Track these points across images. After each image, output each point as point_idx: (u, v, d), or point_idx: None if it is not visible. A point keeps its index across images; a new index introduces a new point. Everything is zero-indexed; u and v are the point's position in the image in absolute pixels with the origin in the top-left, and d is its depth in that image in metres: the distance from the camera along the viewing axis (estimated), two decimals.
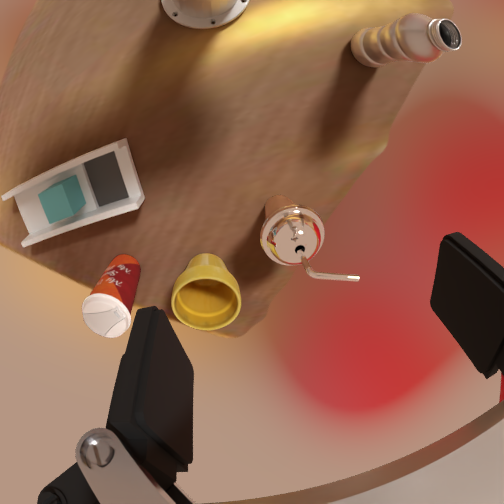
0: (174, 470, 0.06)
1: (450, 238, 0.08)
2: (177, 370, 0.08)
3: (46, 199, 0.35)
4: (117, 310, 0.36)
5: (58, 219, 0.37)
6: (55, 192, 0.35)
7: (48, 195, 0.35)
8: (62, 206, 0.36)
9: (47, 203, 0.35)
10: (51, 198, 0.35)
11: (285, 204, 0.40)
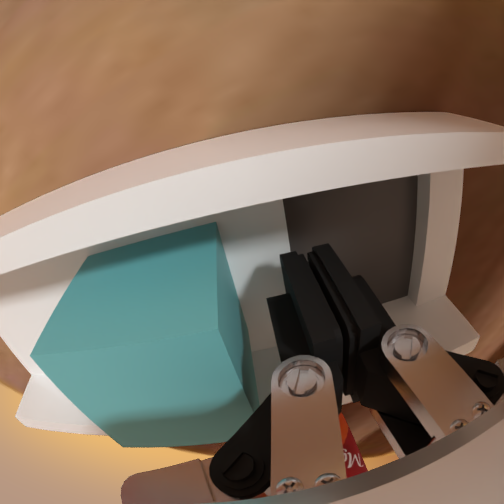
0: None
1: (314, 250, 0.09)
2: None
3: (91, 385, 0.06)
4: None
5: (172, 444, 0.08)
6: (156, 367, 0.06)
7: (102, 373, 0.06)
8: (202, 416, 0.07)
9: (101, 399, 0.06)
10: (126, 387, 0.06)
11: None
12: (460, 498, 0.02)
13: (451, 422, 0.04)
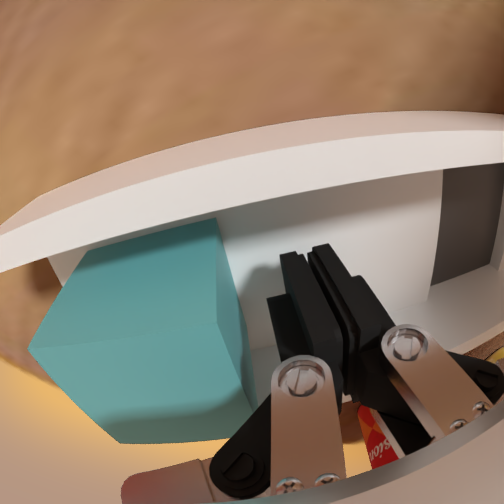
0: None
1: (314, 250, 0.09)
2: None
3: (88, 379, 0.06)
4: None
5: (169, 441, 0.08)
6: (154, 361, 0.06)
7: (99, 367, 0.06)
8: (199, 412, 0.07)
9: (98, 393, 0.06)
10: (123, 381, 0.06)
11: None
12: (460, 498, 0.02)
13: (451, 422, 0.04)
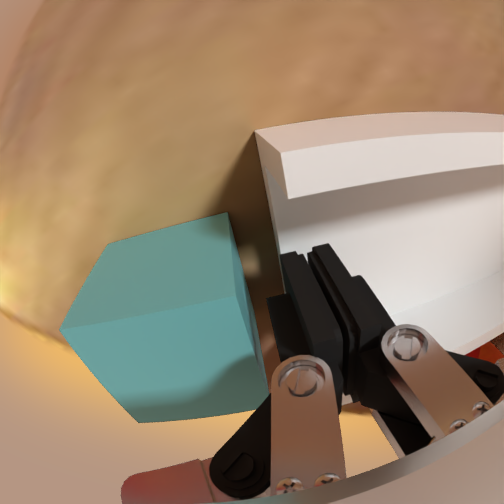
0: None
1: (314, 250, 0.09)
2: None
3: None
4: None
5: None
6: None
7: None
8: None
9: None
10: None
11: None
12: (460, 498, 0.02)
13: (451, 422, 0.04)
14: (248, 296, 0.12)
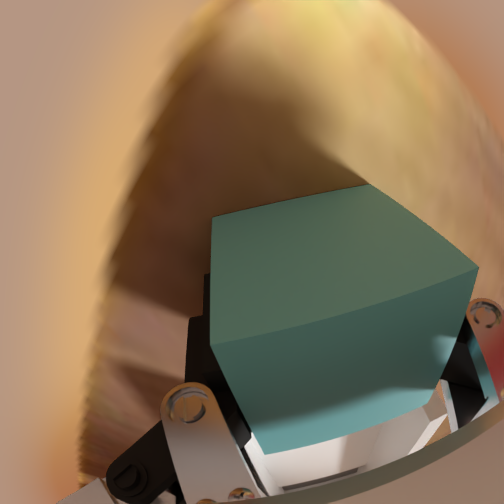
0: (249, 427, 0.07)
1: None
2: None
3: (351, 205, 0.08)
4: None
5: (219, 248, 0.07)
6: (406, 237, 0.06)
7: (376, 211, 0.07)
8: (310, 269, 0.05)
9: (328, 208, 0.08)
10: (361, 221, 0.07)
11: None
12: (460, 498, 0.02)
13: None
14: None
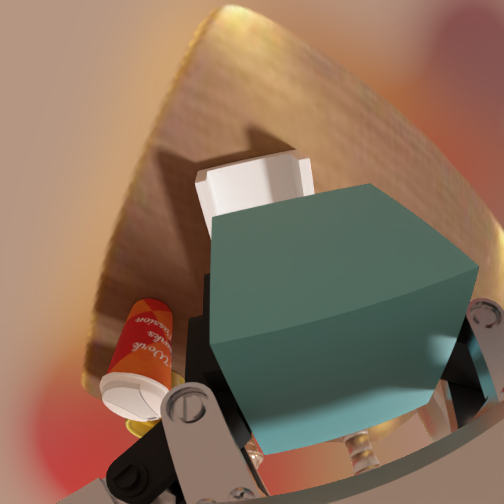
0: (249, 427, 0.07)
1: None
2: None
3: (351, 205, 0.08)
4: (158, 418, 0.26)
5: (219, 247, 0.07)
6: (406, 236, 0.06)
7: (376, 210, 0.07)
8: (310, 268, 0.05)
9: (328, 208, 0.08)
10: (361, 220, 0.07)
11: None
12: (460, 498, 0.02)
13: None
14: None
